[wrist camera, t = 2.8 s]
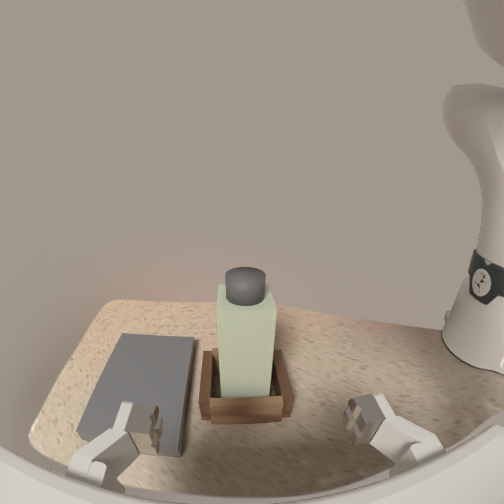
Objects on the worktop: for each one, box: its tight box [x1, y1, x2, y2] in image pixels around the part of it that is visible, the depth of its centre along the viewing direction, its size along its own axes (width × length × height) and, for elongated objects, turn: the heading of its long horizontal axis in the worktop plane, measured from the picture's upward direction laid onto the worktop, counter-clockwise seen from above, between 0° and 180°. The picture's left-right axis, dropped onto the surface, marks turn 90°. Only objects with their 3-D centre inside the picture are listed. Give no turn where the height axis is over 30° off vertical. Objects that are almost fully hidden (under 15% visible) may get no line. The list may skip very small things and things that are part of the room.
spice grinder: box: [216, 267, 277, 398], centre depth 24 cm, size 5×5×14 cm
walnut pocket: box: [199, 348, 293, 424], centre depth 26 cm, size 9×9×3 cm
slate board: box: [76, 333, 195, 457], centre depth 26 cm, size 10×17×2 cm, turn 4°
